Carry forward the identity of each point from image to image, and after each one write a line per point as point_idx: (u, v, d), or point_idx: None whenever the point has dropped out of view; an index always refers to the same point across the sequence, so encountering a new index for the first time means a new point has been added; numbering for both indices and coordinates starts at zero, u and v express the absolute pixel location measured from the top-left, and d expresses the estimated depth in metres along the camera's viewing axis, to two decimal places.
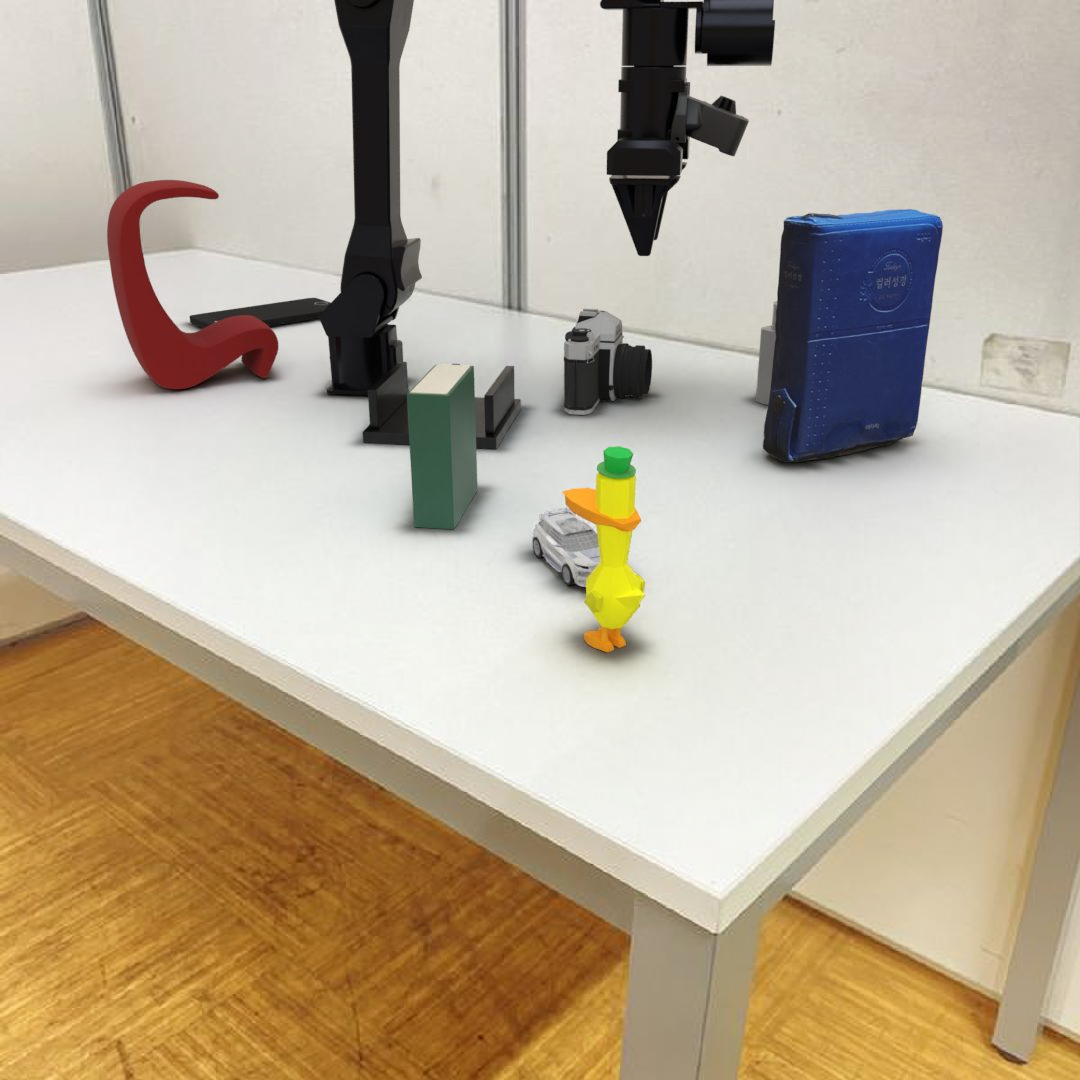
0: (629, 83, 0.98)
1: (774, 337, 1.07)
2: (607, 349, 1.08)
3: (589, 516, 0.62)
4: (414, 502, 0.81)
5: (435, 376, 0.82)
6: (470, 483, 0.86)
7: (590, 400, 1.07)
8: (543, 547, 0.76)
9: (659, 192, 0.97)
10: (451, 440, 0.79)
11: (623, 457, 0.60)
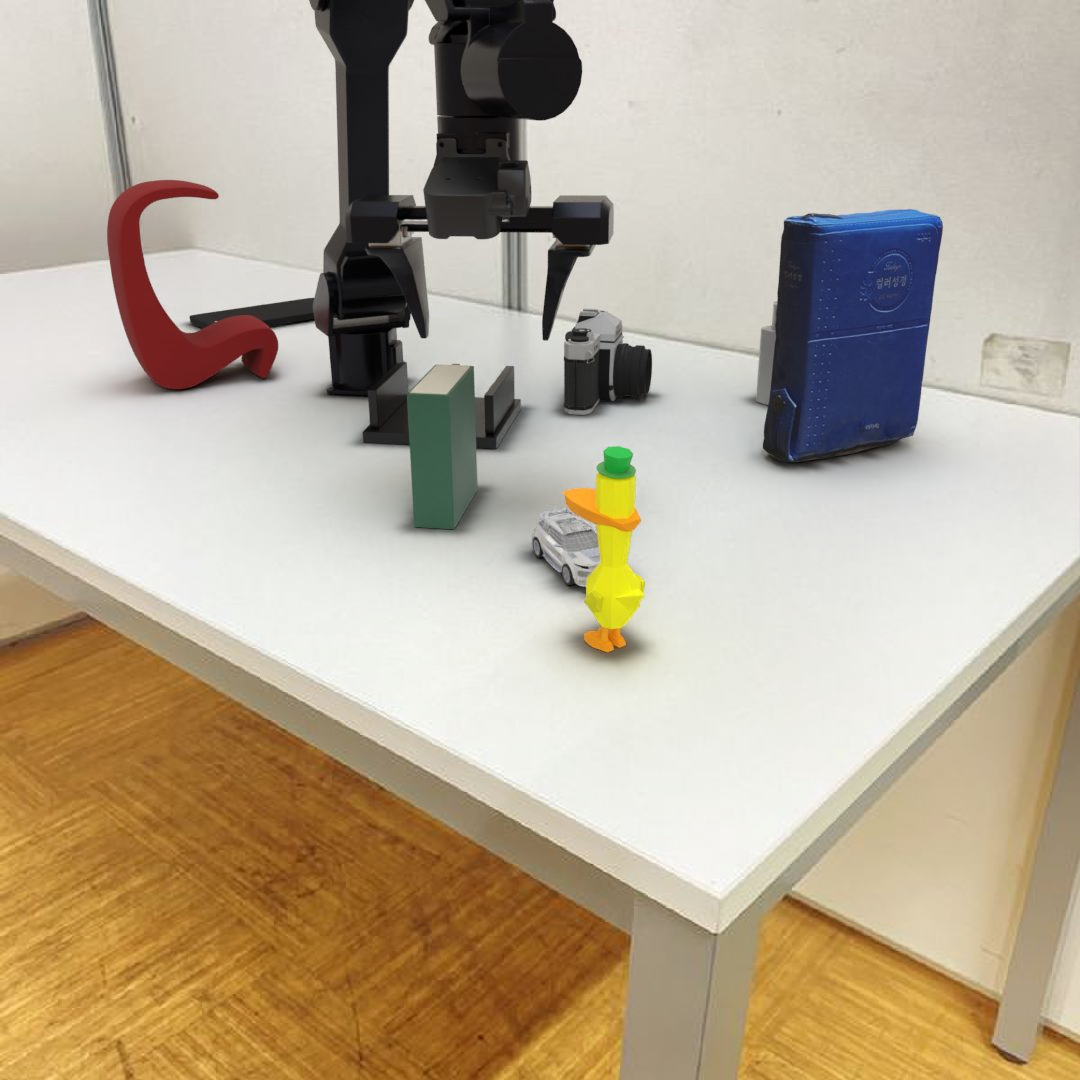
0: None
1: (774, 337, 1.07)
2: (607, 349, 1.08)
3: (589, 516, 0.62)
4: (414, 502, 0.81)
5: (435, 376, 0.82)
6: (470, 483, 0.86)
7: (590, 400, 1.07)
8: (543, 547, 0.76)
9: None
10: (451, 440, 0.79)
11: (623, 457, 0.60)
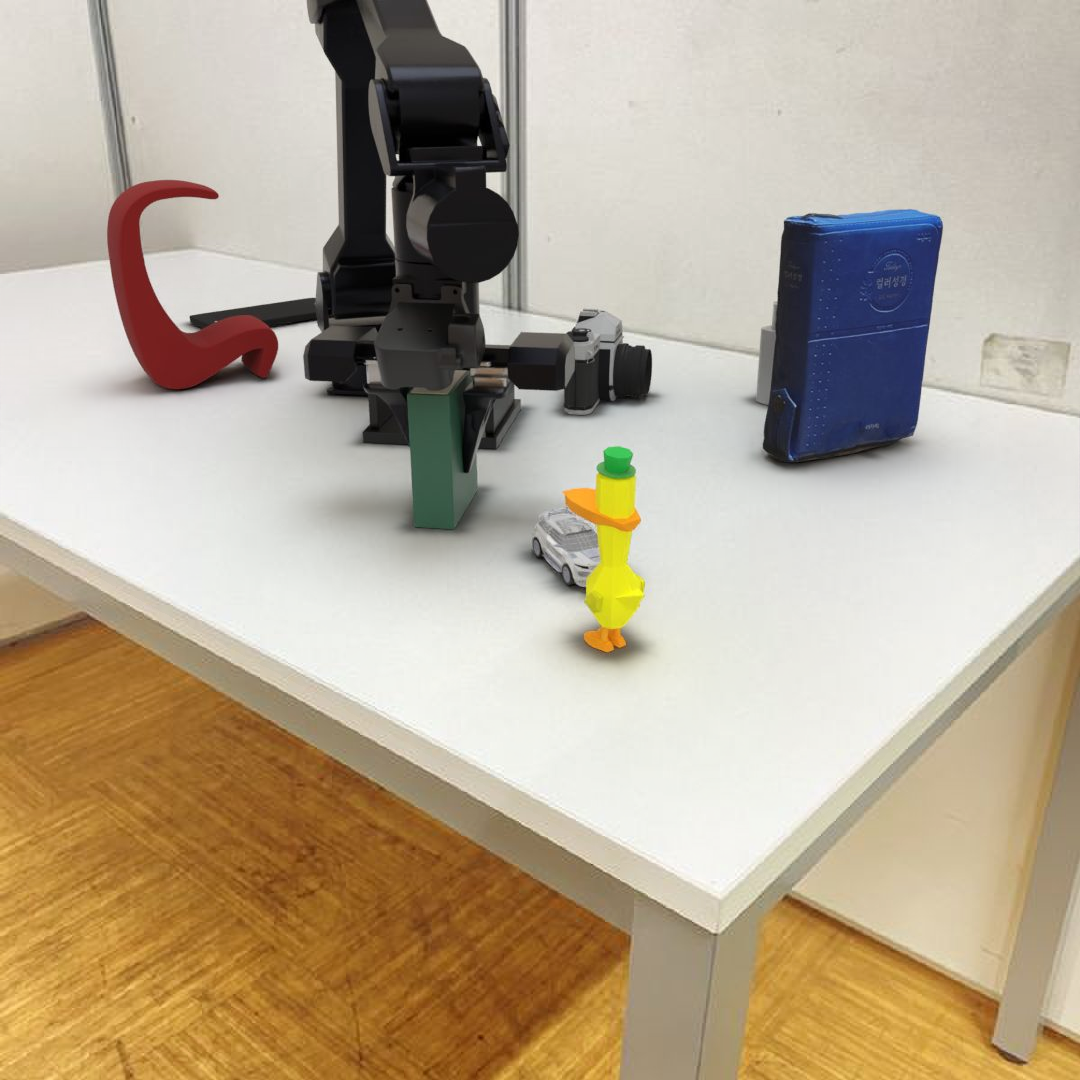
0: None
1: (774, 337, 1.07)
2: (607, 349, 1.08)
3: (589, 516, 0.62)
4: (414, 502, 0.81)
5: None
6: (470, 483, 0.86)
7: (590, 400, 1.07)
8: (543, 547, 0.76)
9: None
10: (451, 440, 0.79)
11: (623, 457, 0.60)
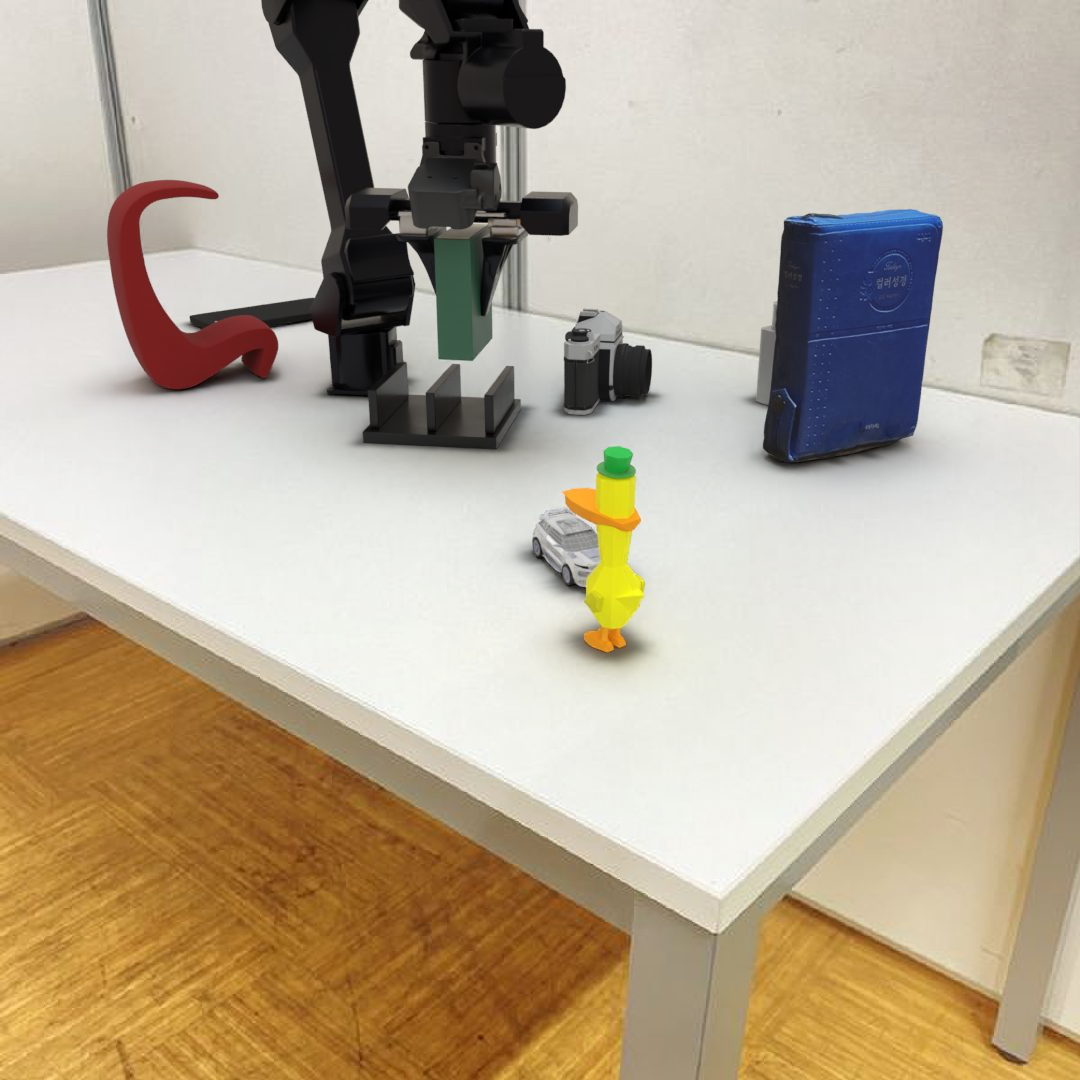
0: None
1: (774, 337, 1.07)
2: (607, 349, 1.08)
3: (589, 516, 0.62)
4: (439, 336, 0.94)
5: None
6: (486, 328, 0.99)
7: (590, 400, 1.07)
8: (543, 547, 0.76)
9: None
10: (471, 280, 0.92)
11: (623, 457, 0.60)
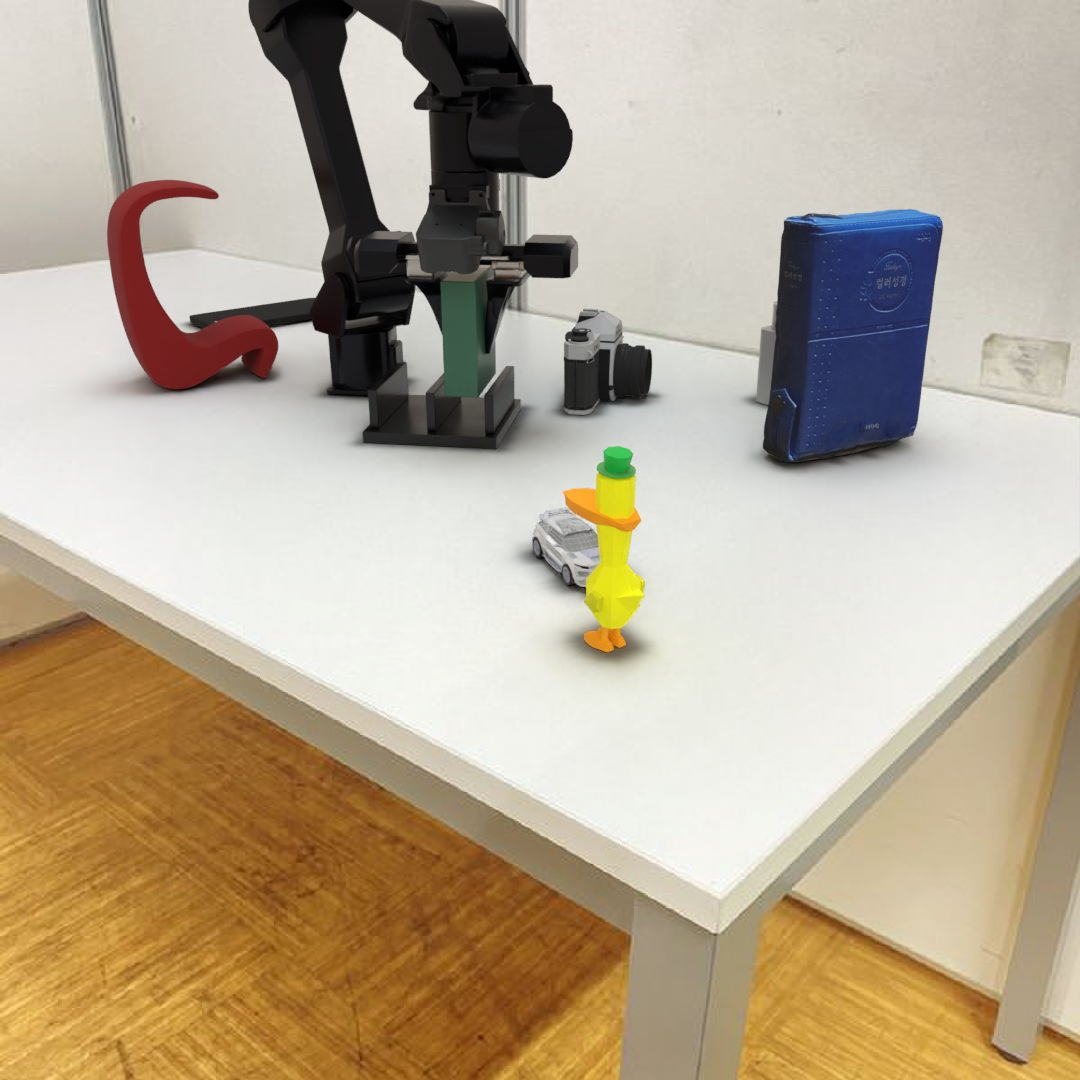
0: None
1: (774, 337, 1.07)
2: (607, 349, 1.08)
3: (589, 516, 0.62)
4: (445, 374, 0.98)
5: None
6: (490, 364, 1.03)
7: (590, 400, 1.07)
8: (543, 547, 0.76)
9: None
10: (476, 321, 0.96)
11: (623, 457, 0.60)
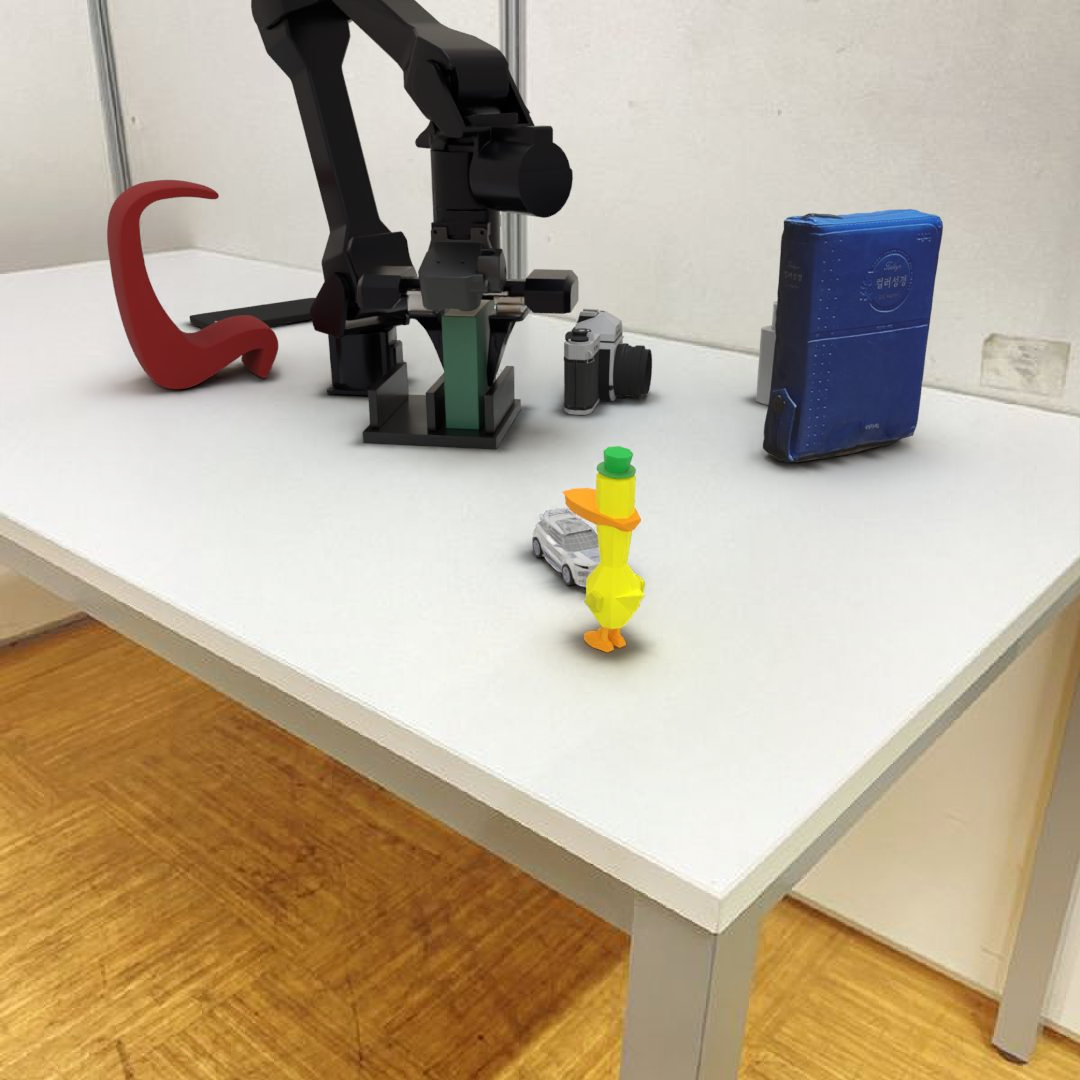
0: None
1: (774, 337, 1.07)
2: (607, 349, 1.08)
3: (589, 516, 0.62)
4: (446, 407, 0.99)
5: None
6: None
7: (590, 400, 1.07)
8: (543, 547, 0.76)
9: None
10: (477, 354, 0.97)
11: (623, 457, 0.60)
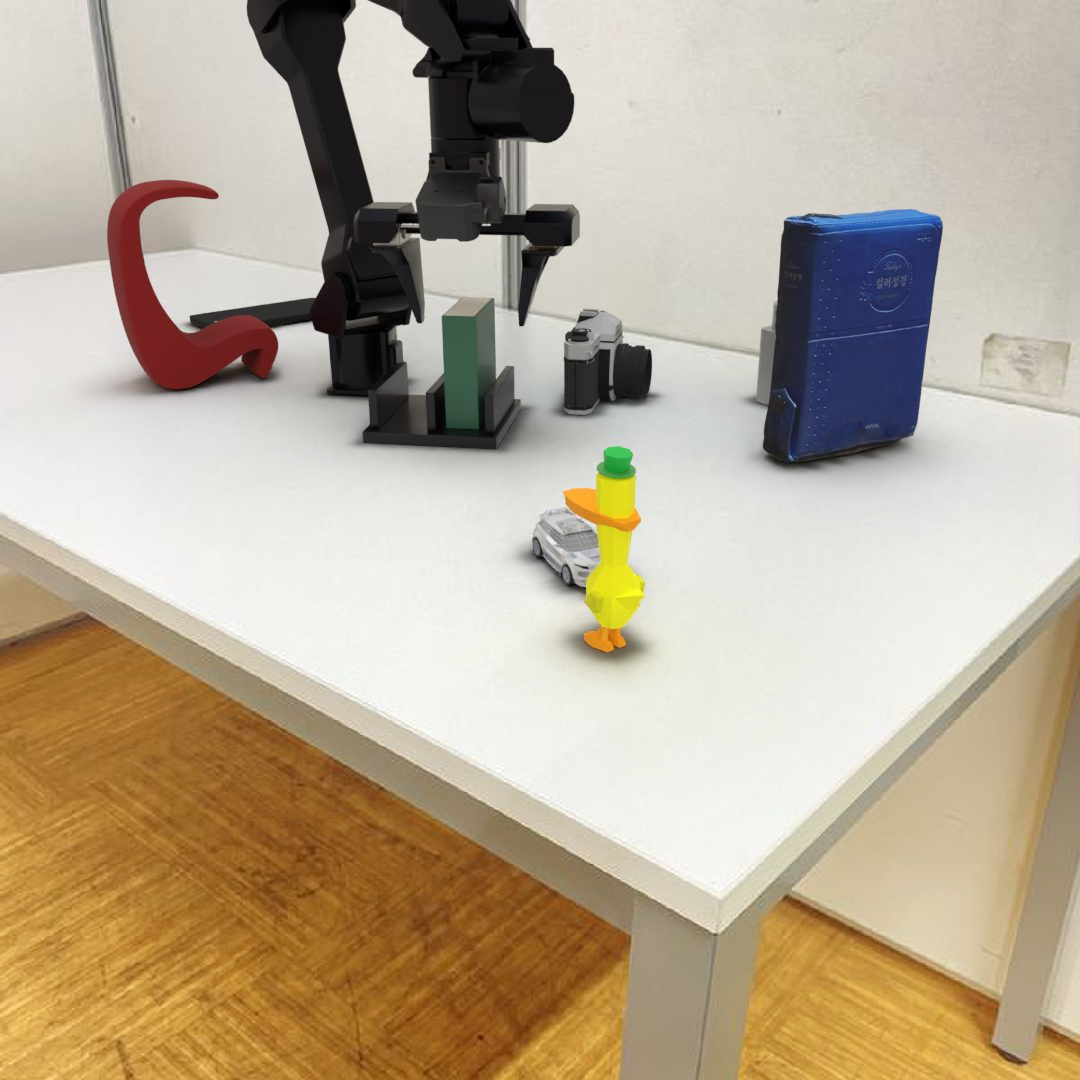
0: None
1: (774, 337, 1.07)
2: (607, 349, 1.08)
3: (589, 516, 0.62)
4: (446, 407, 0.99)
5: (463, 304, 1.00)
6: None
7: (590, 400, 1.07)
8: (543, 547, 0.76)
9: None
10: (477, 354, 0.97)
11: (623, 457, 0.60)
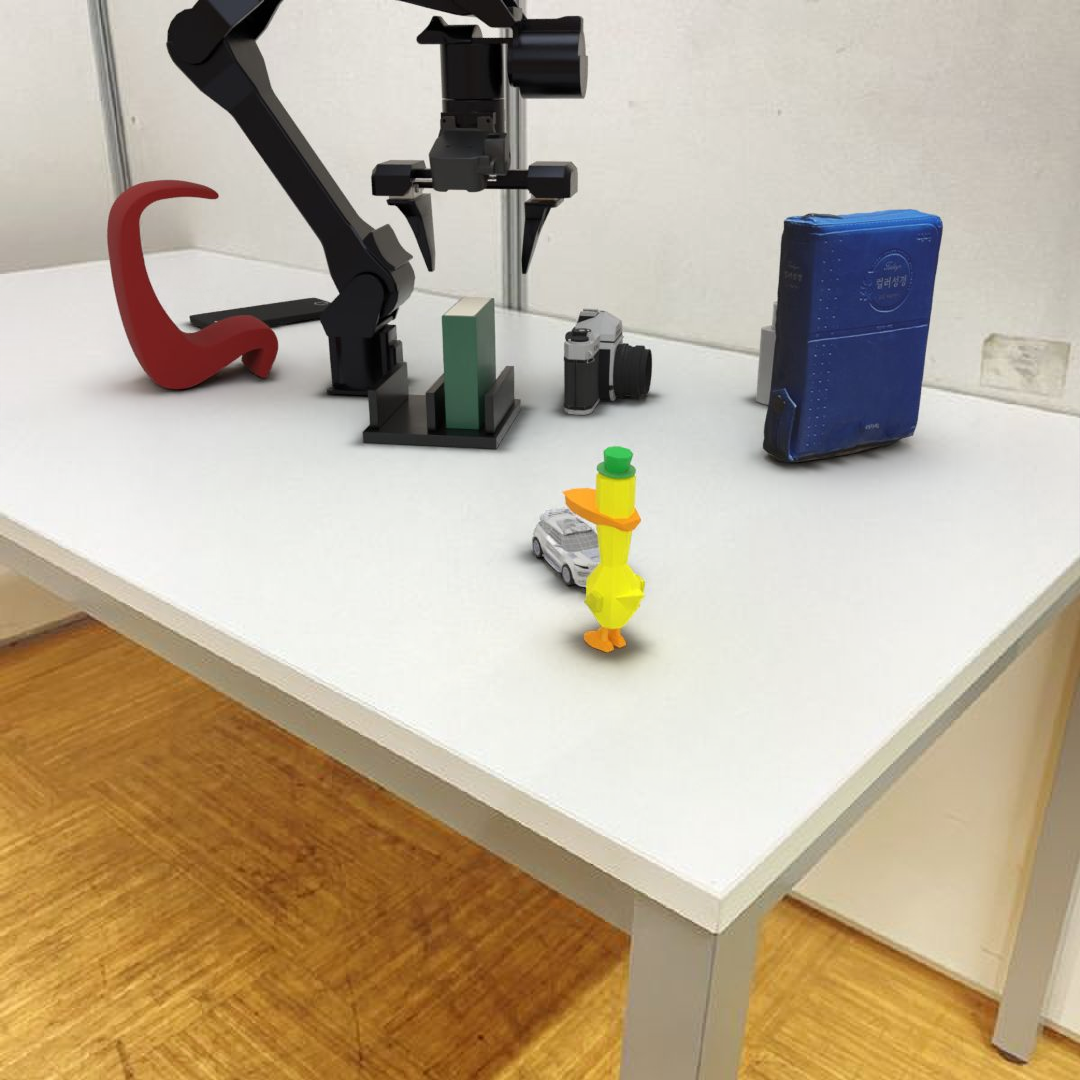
0: None
1: (774, 337, 1.07)
2: (607, 349, 1.08)
3: (589, 516, 0.62)
4: (446, 407, 0.99)
5: (463, 304, 1.00)
6: None
7: (590, 400, 1.07)
8: (543, 547, 0.76)
9: None
10: (477, 354, 0.97)
11: (623, 457, 0.60)
